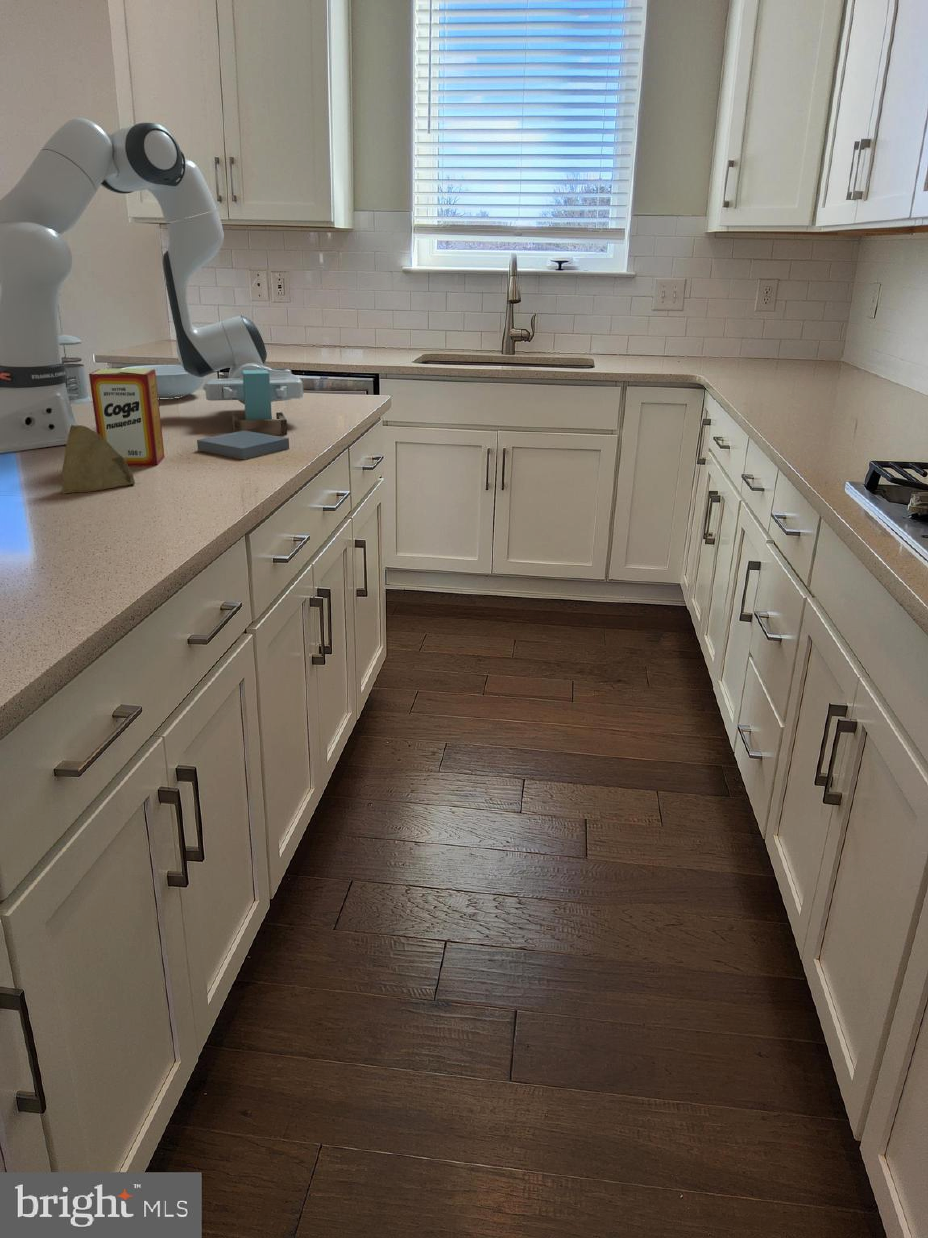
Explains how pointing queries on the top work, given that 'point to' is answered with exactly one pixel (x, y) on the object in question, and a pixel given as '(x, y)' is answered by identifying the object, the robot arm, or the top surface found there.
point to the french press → (74, 372)
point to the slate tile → (243, 444)
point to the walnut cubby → (261, 425)
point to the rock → (92, 463)
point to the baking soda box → (129, 413)
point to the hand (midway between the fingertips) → (257, 394)
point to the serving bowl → (173, 380)
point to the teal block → (257, 394)
